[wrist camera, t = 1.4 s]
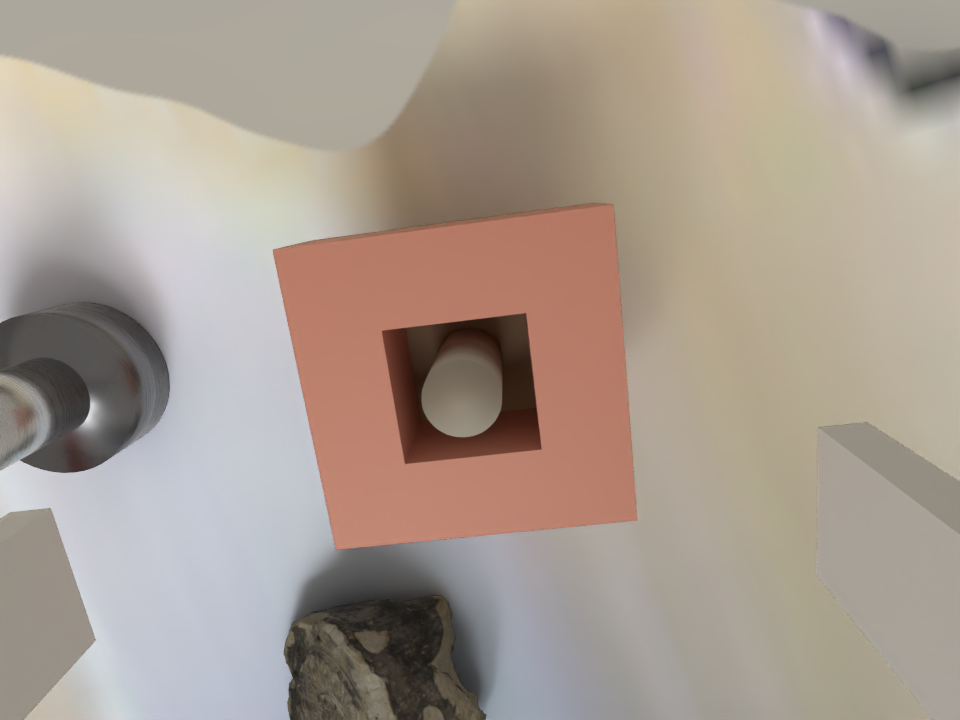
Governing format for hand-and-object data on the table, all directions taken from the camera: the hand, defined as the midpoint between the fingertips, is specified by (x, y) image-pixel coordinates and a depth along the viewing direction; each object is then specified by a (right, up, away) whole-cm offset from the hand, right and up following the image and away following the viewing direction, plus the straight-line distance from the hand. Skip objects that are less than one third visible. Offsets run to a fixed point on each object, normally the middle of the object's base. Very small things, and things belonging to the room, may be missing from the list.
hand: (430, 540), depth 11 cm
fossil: (-4, -13, +22) cm, 26 cm away
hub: (-17, +2, +19) cm, 25 cm away
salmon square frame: (0, +3, +12) cm, 13 cm away
